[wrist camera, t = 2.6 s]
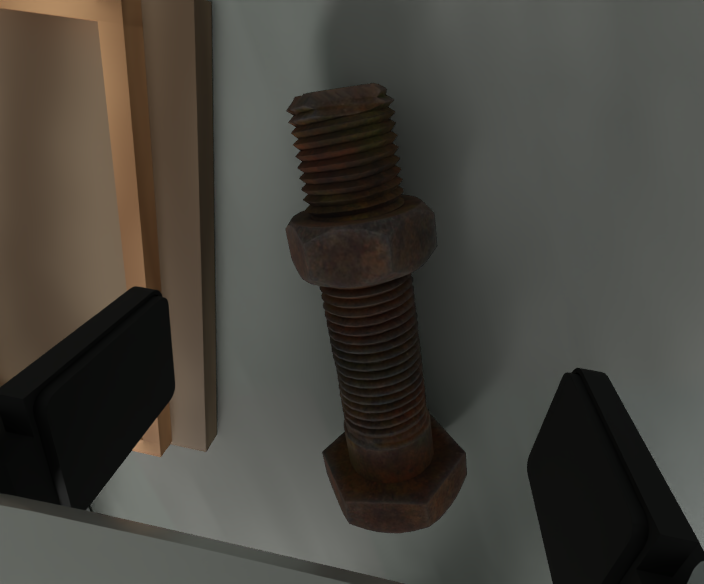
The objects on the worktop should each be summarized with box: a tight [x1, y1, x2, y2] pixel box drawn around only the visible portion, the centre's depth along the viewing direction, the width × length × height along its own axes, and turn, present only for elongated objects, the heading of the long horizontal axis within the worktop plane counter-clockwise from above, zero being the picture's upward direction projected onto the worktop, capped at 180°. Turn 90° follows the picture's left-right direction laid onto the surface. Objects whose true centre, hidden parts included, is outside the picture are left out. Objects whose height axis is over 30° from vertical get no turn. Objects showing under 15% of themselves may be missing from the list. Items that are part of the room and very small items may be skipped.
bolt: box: [285, 83, 467, 533], centre depth 16 cm, size 6×5×15 cm
